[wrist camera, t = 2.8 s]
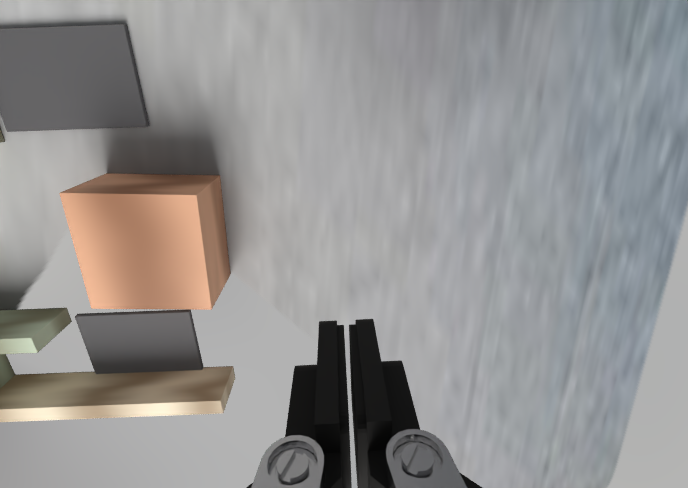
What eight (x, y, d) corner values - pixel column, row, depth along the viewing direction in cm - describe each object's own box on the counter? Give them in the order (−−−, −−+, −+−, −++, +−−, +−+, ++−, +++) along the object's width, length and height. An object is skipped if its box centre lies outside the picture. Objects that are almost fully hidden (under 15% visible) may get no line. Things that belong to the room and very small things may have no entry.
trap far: (190, 309, 24) (188, 312, 24) (203, 366, 26) (201, 370, 25) (77, 313, 24) (74, 316, 24) (98, 370, 26) (95, 374, 25)
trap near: (126, 25, 18) (123, 24, 18) (149, 125, 20) (146, 126, 19) (-25, 30, 18) (-31, 29, 18) (11, 130, 20) (7, 131, 19)
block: (220, 174, 21) (196, 194, 17) (231, 272, 23) (211, 309, 20) (108, 172, 21) (59, 192, 17) (130, 271, 23) (91, 308, 19)
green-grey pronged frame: (167, 10, 18) (135, -2, 15) (235, 378, 26) (223, 413, 23) (-173, 22, 18) (-268, 12, 15) (5, 386, 26) (-34, 423, 23)
